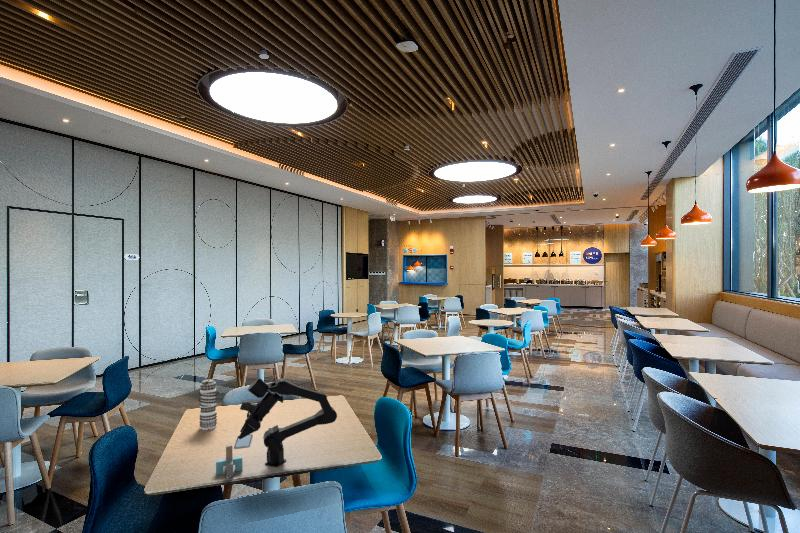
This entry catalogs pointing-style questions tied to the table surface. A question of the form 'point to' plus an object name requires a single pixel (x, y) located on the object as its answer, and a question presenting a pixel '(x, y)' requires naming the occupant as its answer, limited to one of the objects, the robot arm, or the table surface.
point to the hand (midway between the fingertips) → (240, 435)
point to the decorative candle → (208, 404)
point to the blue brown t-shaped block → (222, 462)
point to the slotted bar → (229, 468)
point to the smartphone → (243, 442)
